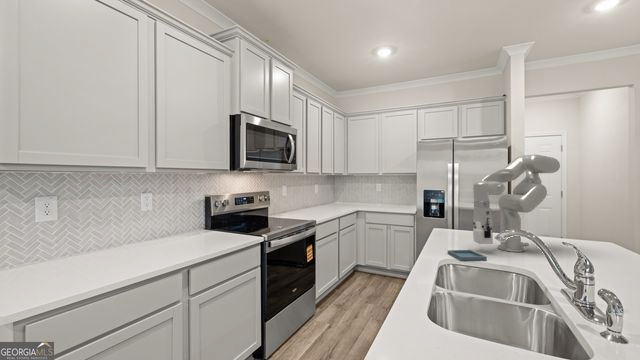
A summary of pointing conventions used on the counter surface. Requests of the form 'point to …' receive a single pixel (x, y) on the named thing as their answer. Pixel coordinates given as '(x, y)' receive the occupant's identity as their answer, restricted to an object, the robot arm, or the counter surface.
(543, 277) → the counter surface
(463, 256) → the tray
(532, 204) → the robot arm
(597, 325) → the counter surface
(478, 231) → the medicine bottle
